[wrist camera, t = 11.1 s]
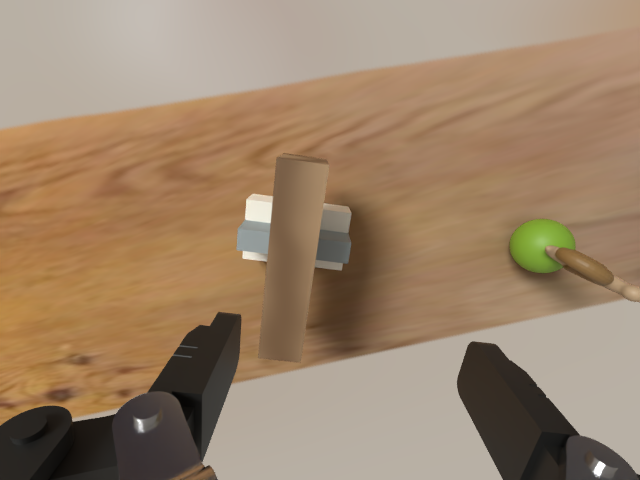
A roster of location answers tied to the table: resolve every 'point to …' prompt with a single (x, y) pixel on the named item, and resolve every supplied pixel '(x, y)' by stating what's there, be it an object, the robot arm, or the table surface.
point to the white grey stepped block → (331, 236)
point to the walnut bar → (291, 254)
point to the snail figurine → (562, 256)
